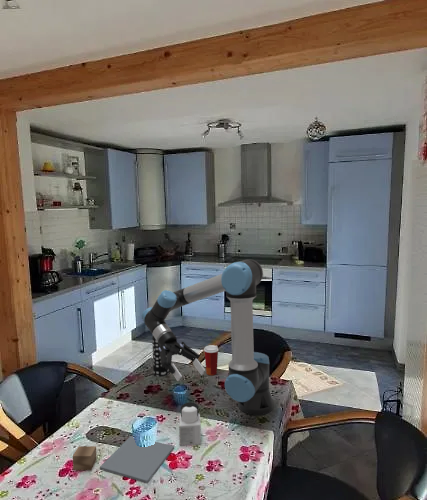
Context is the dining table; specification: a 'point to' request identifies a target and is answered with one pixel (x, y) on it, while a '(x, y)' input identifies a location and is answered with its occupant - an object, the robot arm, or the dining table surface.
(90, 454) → the walnut block
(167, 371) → the white-spotted black cylinder
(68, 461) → the dining table surface
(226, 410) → the dining table surface
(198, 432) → the container
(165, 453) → the slate plate
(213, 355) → the paper cup
